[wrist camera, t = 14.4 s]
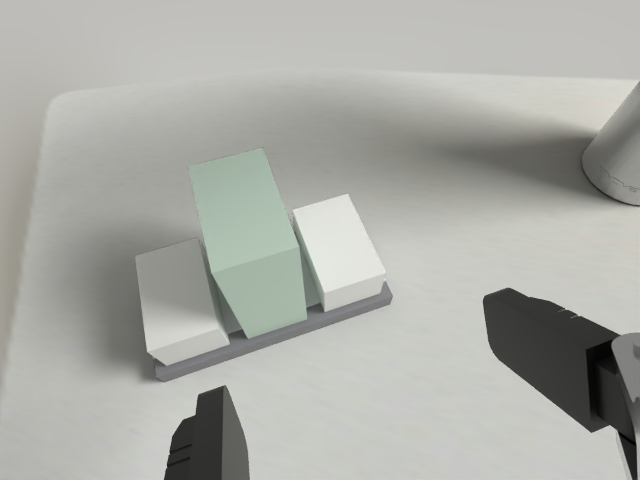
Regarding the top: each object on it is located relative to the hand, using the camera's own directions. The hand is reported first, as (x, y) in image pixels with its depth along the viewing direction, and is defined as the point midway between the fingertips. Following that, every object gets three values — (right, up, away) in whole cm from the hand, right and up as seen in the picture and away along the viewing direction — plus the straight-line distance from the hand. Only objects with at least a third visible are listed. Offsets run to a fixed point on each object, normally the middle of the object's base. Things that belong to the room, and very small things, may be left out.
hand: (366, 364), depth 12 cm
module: (-6, 0, +23) cm, 23 cm away
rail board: (-6, -1, +24) cm, 25 cm away
